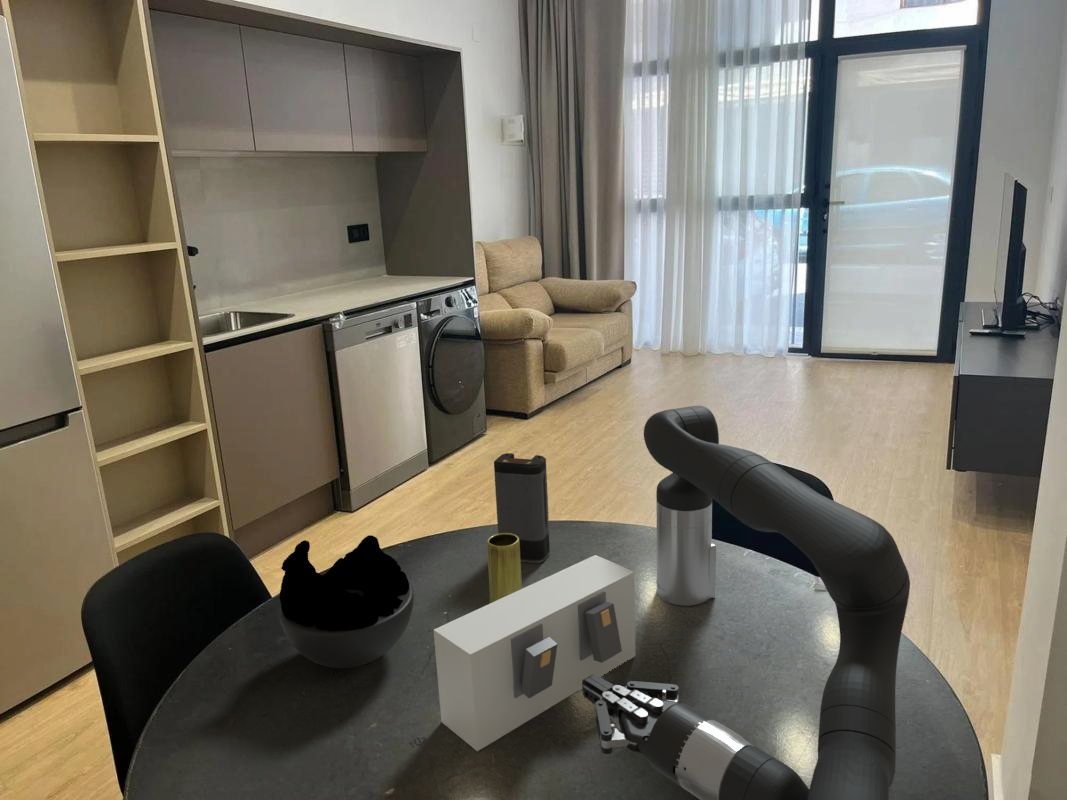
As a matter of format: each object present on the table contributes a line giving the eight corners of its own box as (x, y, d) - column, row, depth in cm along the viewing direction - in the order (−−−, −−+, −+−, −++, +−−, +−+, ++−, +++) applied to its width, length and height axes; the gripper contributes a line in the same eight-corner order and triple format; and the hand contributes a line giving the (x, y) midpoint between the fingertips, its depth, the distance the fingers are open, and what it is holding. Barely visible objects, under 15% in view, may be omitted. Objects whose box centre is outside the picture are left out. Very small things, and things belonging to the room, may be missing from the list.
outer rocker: (521, 691, 103) (525, 649, 100) (543, 678, 105) (549, 636, 102) (530, 699, 102) (535, 657, 99) (553, 686, 104) (558, 644, 101)
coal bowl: (445, 651, 123) (435, 540, 118) (334, 715, 109) (319, 592, 104) (369, 610, 136) (358, 508, 131) (262, 662, 122) (245, 551, 117)
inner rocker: (593, 660, 109) (585, 612, 109) (613, 648, 112) (605, 601, 111) (603, 663, 108) (594, 614, 107) (623, 651, 110) (614, 603, 110)
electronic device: (552, 551, 155) (548, 455, 150) (542, 565, 149) (538, 465, 144) (507, 546, 158) (502, 452, 153) (496, 559, 152) (490, 462, 147)
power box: (441, 722, 106) (433, 629, 103) (597, 635, 125) (595, 554, 122) (478, 752, 100) (471, 655, 97) (636, 656, 119) (635, 572, 115)
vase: (527, 608, 134) (523, 531, 130) (523, 628, 128) (519, 547, 124) (492, 608, 135) (487, 531, 131) (486, 627, 129) (481, 547, 125)
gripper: (741, 697, 86) (623, 634, 98) (661, 756, 77) (544, 679, 90) (739, 755, 87) (624, 687, 100) (661, 819, 79) (546, 735, 92)
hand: (586, 683), depth 95 cm, fingers closed
